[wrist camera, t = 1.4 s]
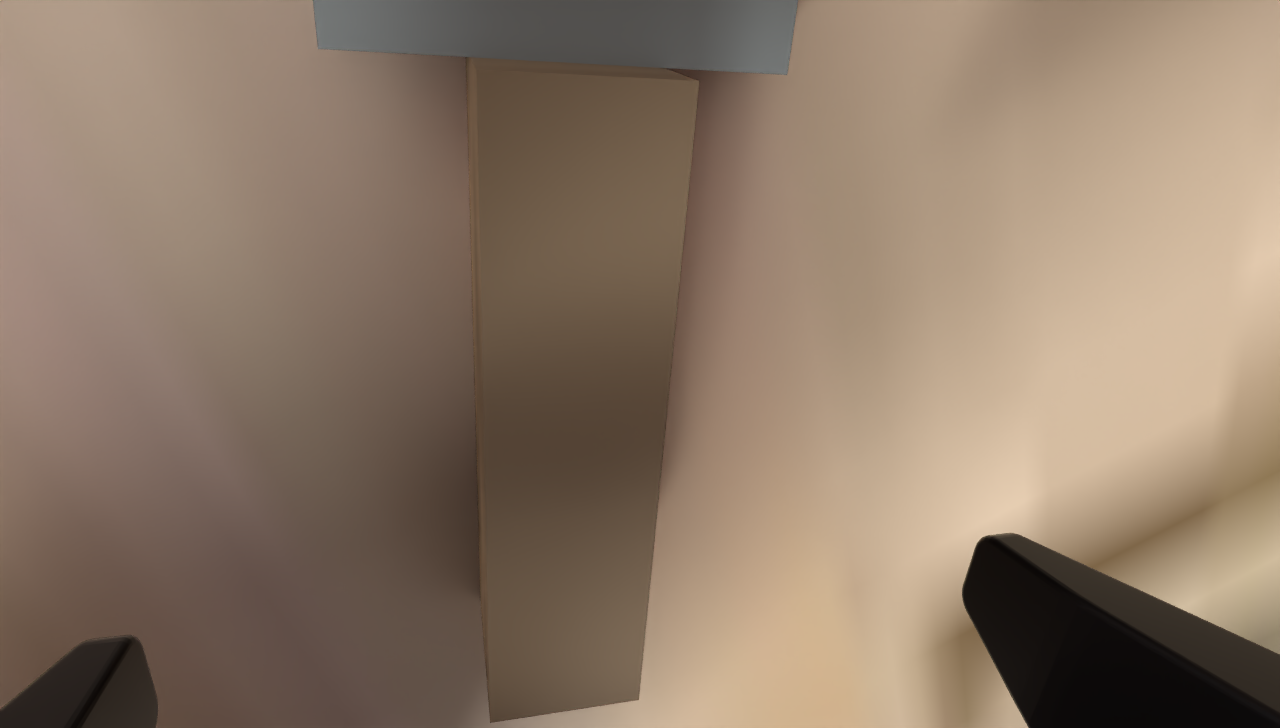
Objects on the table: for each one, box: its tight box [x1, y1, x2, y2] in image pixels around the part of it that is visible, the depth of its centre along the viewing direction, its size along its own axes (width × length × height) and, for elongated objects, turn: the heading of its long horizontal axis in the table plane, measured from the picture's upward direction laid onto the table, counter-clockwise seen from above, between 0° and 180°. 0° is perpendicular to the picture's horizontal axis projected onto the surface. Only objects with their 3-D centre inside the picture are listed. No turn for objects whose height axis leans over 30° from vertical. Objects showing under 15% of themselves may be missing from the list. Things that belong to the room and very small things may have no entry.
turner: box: [313, 0, 798, 723], centre depth 11 cm, size 15×6×3 cm, turn 175°
